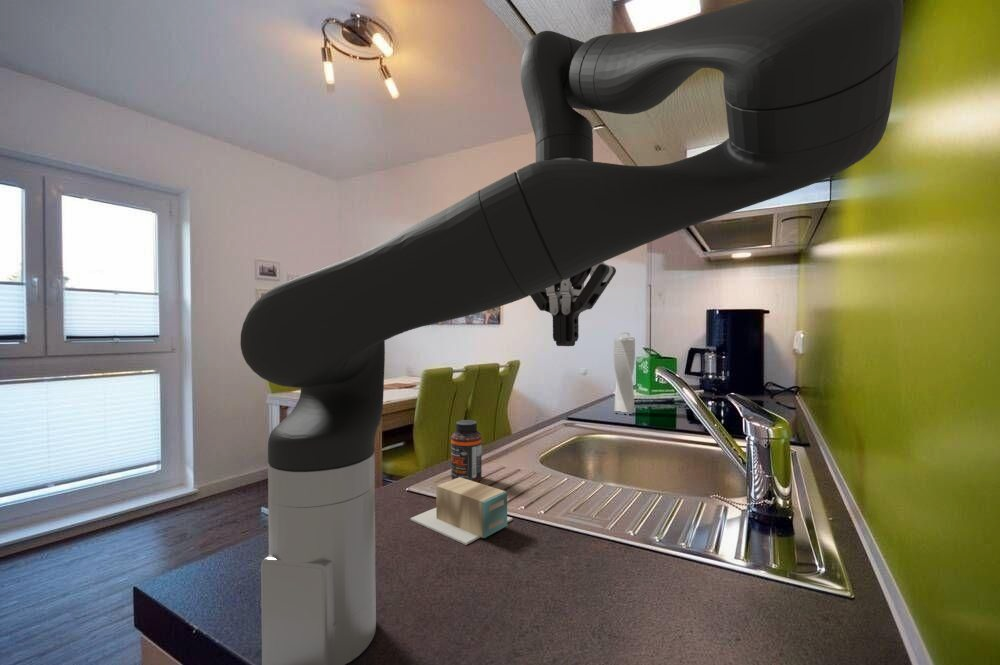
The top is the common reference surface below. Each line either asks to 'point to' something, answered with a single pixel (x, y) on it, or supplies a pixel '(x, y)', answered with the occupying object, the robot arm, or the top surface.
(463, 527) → the beech block
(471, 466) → the supplement bottle
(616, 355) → the skyscraper
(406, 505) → the top surface
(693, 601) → the top surface
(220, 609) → the top surface
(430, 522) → the grey mat
